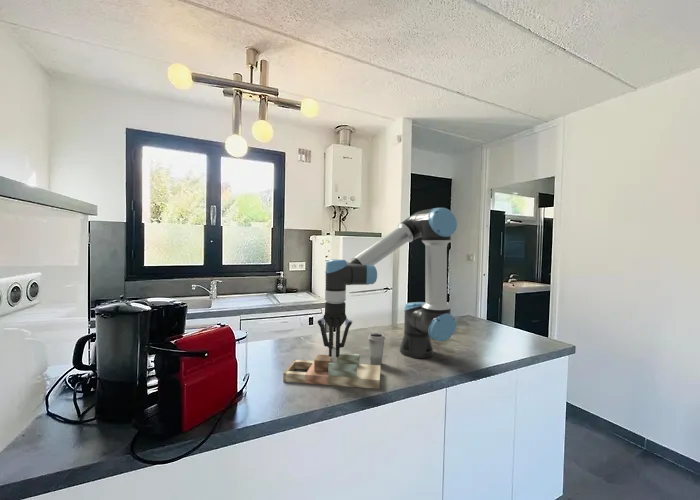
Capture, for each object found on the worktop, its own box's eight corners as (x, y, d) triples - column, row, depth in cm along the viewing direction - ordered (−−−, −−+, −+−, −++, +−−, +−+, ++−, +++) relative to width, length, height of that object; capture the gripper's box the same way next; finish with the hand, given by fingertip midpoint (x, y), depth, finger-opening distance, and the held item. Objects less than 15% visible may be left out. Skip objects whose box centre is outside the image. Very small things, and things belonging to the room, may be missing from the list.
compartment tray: (380, 373, 119) (380, 355, 119) (379, 388, 106) (379, 368, 106) (294, 366, 123) (294, 349, 123) (283, 381, 110) (283, 361, 110)
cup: (382, 360, 132) (382, 332, 132) (386, 366, 125) (387, 337, 125) (365, 361, 131) (366, 332, 130) (369, 367, 124) (370, 337, 124)
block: (333, 365, 117) (333, 355, 117) (330, 372, 111) (330, 361, 111) (317, 364, 118) (318, 354, 118) (314, 371, 112) (314, 360, 112)
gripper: (354, 300, 117) (352, 362, 117) (320, 299, 118) (319, 360, 119) (351, 304, 109) (350, 370, 110) (315, 302, 111) (314, 368, 111)
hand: (334, 365), depth 114 cm, fingers closed
